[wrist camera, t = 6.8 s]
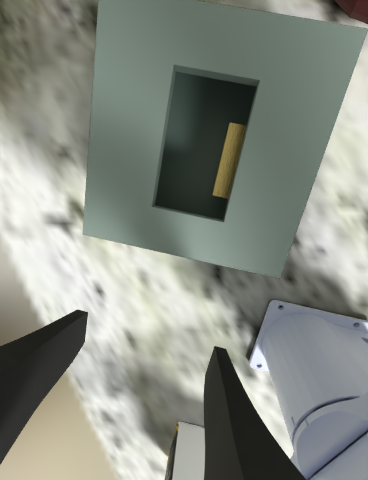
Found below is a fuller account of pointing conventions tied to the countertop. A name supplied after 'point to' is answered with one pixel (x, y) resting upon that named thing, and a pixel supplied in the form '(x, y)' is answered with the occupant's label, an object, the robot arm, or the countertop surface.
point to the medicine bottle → (187, 453)
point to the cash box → (210, 126)
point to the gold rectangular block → (228, 160)
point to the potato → (355, 9)
